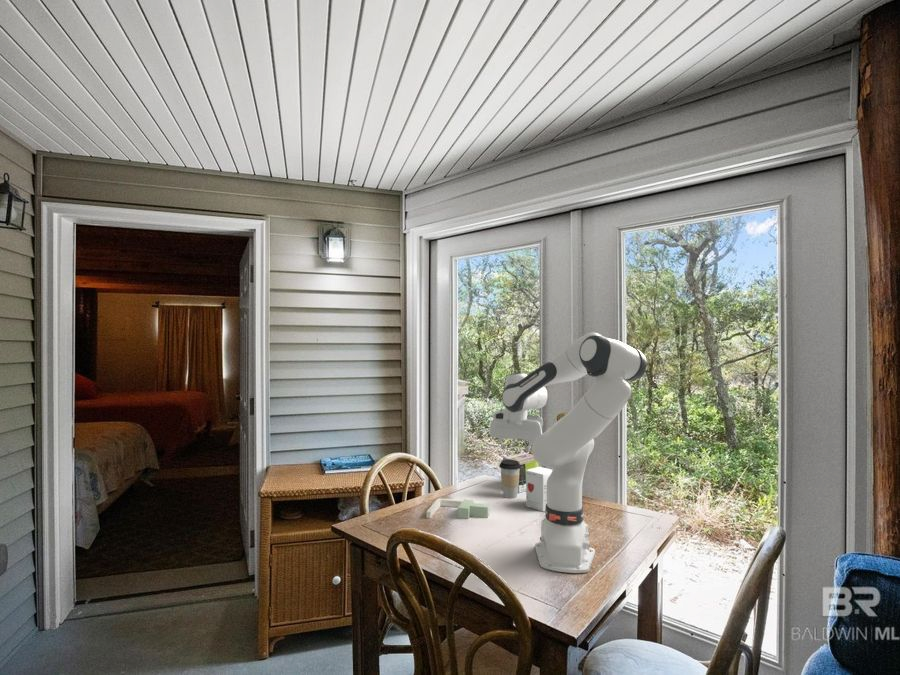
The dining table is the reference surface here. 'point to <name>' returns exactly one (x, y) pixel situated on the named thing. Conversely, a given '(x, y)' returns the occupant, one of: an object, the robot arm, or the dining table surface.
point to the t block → (472, 509)
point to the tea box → (523, 467)
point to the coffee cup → (510, 477)
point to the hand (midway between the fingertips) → (515, 450)
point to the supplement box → (537, 487)
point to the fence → (442, 502)
